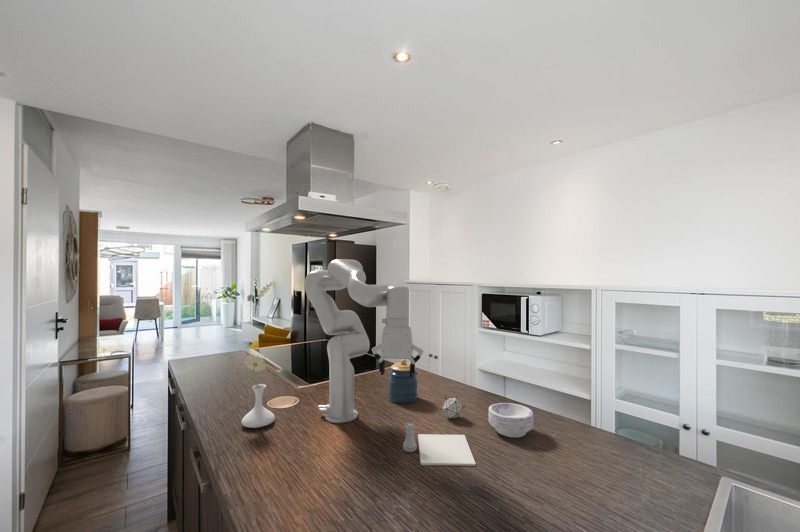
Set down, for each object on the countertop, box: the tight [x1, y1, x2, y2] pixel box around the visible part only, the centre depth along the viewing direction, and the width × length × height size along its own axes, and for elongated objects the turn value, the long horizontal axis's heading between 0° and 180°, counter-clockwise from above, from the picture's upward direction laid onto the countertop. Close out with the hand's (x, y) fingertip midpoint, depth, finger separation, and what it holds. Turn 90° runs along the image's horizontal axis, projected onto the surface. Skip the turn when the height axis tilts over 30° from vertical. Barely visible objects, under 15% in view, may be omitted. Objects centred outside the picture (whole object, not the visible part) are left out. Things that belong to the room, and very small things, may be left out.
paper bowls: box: [488, 402, 534, 439], centre depth 122 cm, size 15×15×8 cm
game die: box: [439, 395, 466, 421], centre depth 134 cm, size 9×8×10 cm
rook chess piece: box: [402, 422, 418, 453], centre depth 110 cm, size 4×4×8 cm
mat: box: [417, 433, 477, 467], centre depth 110 cm, size 16×18×1 cm
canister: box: [388, 359, 419, 405], centre depth 154 cm, size 13×13×18 cm
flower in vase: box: [241, 354, 276, 429], centre depth 127 cm, size 13×11×25 cm
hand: (397, 374), depth 115 cm, fingers open, 9 cm apart
